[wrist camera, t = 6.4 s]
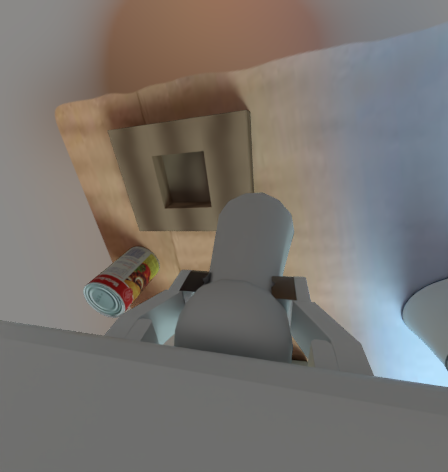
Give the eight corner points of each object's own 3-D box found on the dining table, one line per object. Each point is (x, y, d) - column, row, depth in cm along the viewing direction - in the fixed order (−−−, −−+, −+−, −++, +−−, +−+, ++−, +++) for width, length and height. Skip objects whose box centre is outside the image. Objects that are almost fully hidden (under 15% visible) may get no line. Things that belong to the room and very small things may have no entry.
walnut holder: (250, 111, 28) (245, 109, 25) (255, 220, 35) (252, 231, 32) (125, 129, 33) (107, 130, 30) (151, 221, 40) (139, 230, 37)
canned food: (132, 274, 49) (92, 314, 38) (123, 245, 45) (76, 280, 35) (162, 277, 47) (129, 320, 36) (155, 247, 43) (116, 285, 33)
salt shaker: (215, 194, 18) (112, 308, 7) (284, 176, 16) (306, 292, 5) (234, 252, 20) (181, 411, 9) (296, 242, 18) (330, 428, 7)
